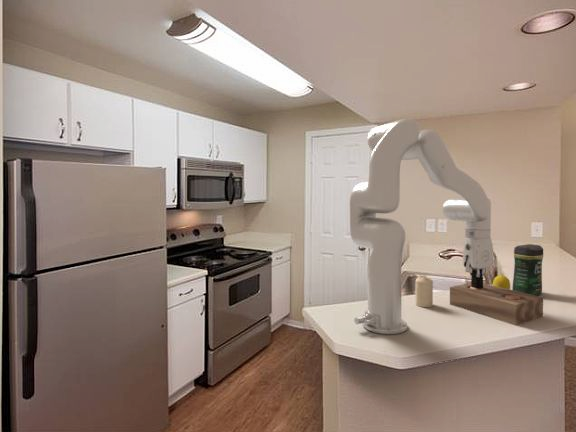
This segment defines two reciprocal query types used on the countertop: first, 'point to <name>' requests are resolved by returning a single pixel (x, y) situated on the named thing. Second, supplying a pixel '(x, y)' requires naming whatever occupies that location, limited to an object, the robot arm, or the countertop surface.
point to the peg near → (513, 297)
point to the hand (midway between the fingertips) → (477, 287)
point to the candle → (424, 292)
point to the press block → (497, 303)
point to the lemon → (501, 282)
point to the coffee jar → (528, 269)
